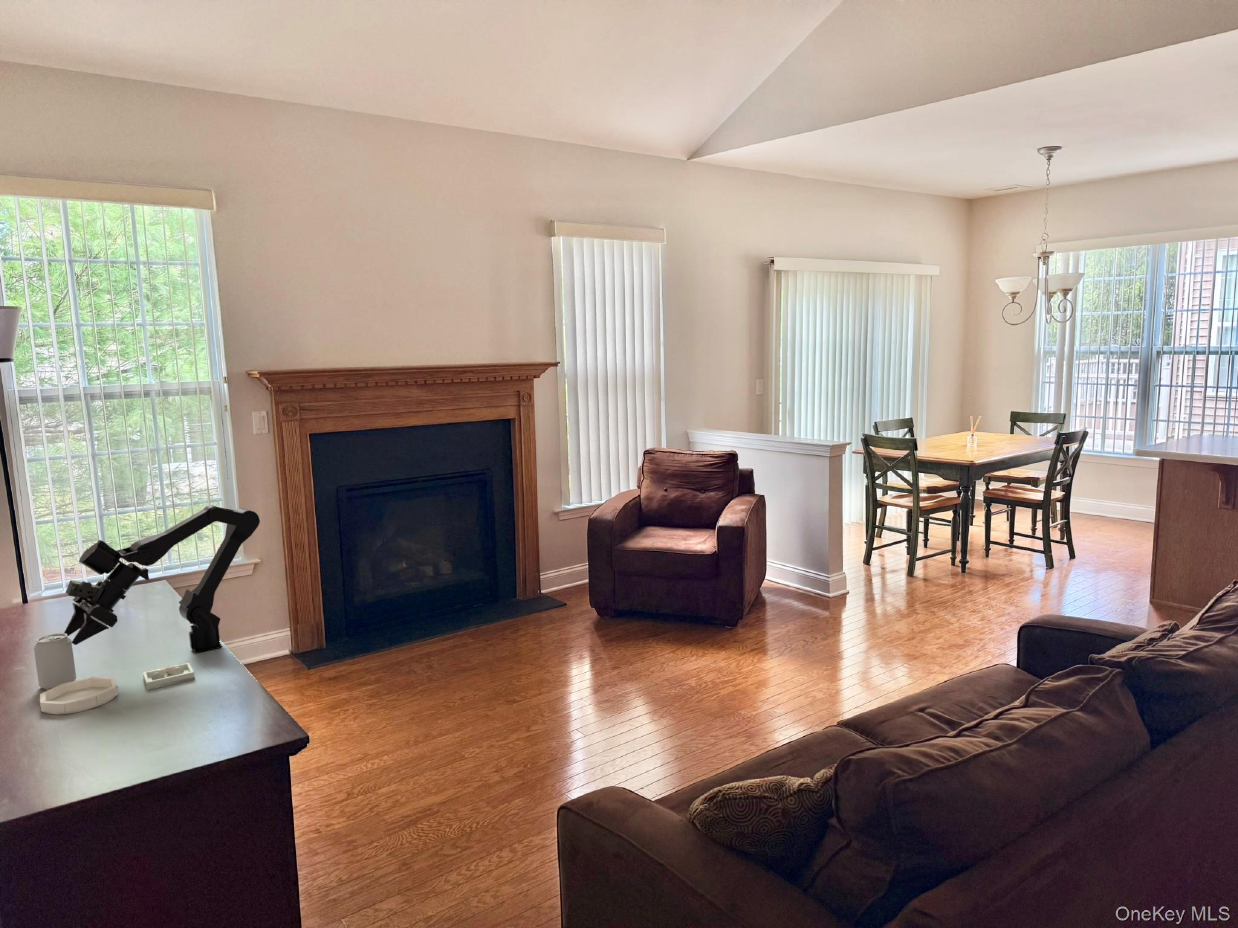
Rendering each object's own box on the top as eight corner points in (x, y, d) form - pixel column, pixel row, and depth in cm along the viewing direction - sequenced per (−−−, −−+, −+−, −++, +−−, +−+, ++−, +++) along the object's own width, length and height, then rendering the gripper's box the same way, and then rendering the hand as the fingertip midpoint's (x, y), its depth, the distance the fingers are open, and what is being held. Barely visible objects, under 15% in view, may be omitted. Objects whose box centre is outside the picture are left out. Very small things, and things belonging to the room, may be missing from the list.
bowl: (115, 682, 200) (114, 672, 200) (120, 702, 188) (118, 691, 188) (41, 698, 192) (40, 687, 191) (41, 720, 180) (40, 709, 179)
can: (58, 692, 196) (51, 642, 194) (31, 690, 197) (24, 641, 195) (84, 679, 203) (78, 631, 201) (58, 678, 204) (52, 630, 203)
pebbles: (182, 670, 205) (181, 660, 204) (185, 676, 200) (184, 667, 200) (150, 677, 201) (148, 667, 200) (152, 684, 196) (151, 674, 196)
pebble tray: (189, 669, 207) (189, 662, 206) (194, 679, 200) (193, 671, 200) (143, 679, 201) (142, 672, 201) (147, 689, 195) (146, 682, 194)
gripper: (78, 561, 209) (30, 614, 203) (96, 573, 195) (45, 630, 189) (117, 585, 215) (72, 637, 209) (137, 598, 202) (89, 655, 196)
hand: (69, 639), depth 201 cm, fingers open, 9 cm apart
